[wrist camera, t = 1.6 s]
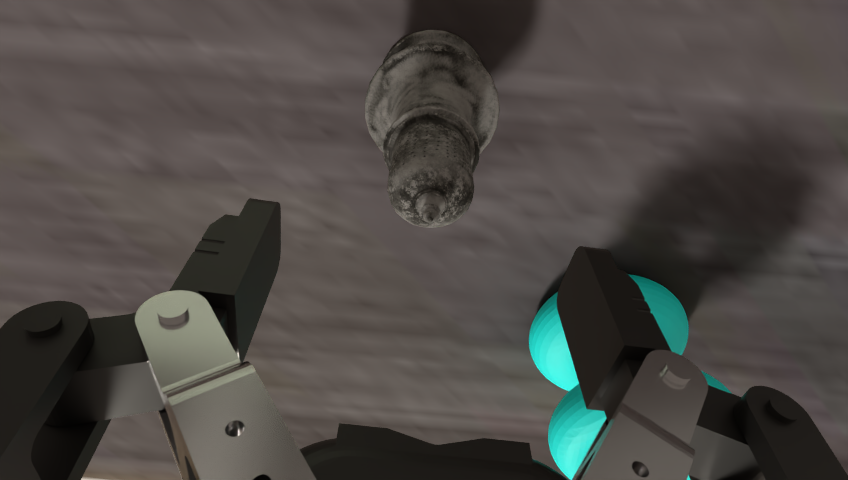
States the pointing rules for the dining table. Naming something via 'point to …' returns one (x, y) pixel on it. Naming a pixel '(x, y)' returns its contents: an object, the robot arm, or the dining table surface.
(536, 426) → the dining table surface
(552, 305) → the donuts
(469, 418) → the dining table surface
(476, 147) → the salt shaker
